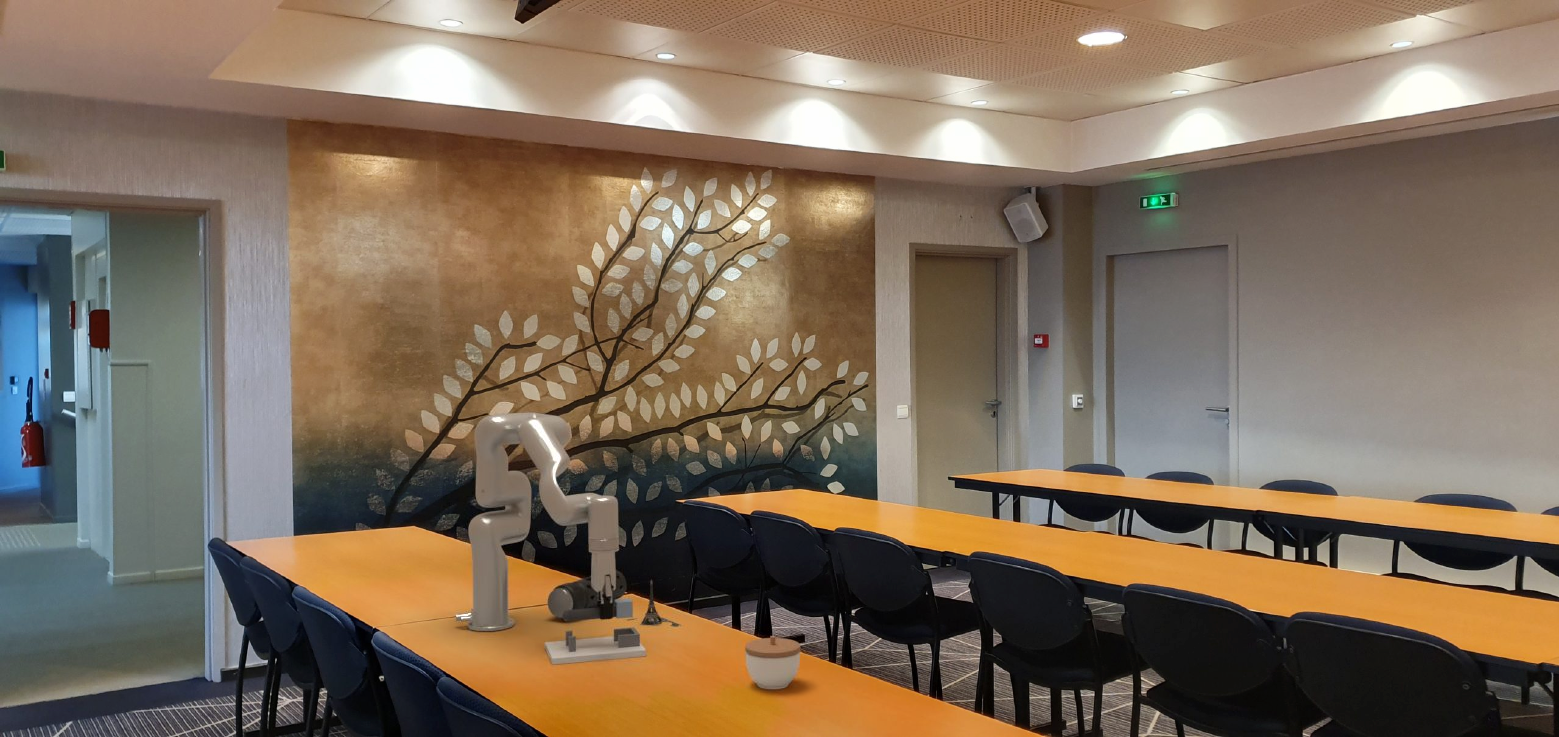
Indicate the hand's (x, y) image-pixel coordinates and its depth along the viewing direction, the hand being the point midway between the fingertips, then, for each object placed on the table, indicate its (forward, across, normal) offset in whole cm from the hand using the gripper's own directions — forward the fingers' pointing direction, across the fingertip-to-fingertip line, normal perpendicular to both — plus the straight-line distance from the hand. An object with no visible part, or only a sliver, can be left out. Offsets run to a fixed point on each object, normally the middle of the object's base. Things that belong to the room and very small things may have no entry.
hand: (605, 616), depth 279 cm
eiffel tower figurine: (+9, -25, +18) cm, 32 cm away
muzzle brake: (+8, -44, +2) cm, 45 cm away
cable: (0, 0, -2) cm, 2 cm away
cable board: (+9, 0, -3) cm, 9 cm away
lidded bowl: (+10, +40, +31) cm, 52 cm away
